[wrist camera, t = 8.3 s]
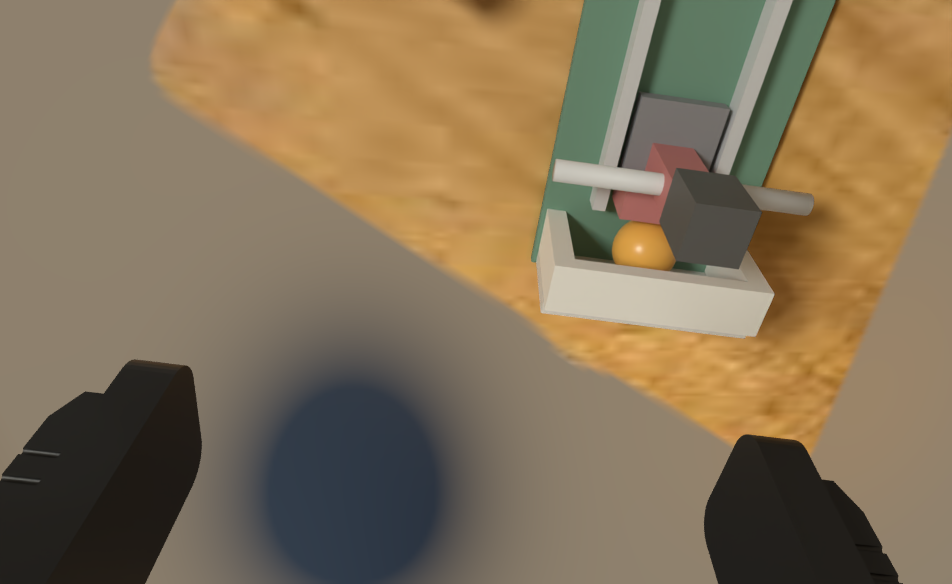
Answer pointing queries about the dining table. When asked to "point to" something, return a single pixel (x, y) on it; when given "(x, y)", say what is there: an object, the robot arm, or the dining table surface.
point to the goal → (648, 290)
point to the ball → (642, 247)
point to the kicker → (683, 182)
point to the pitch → (677, 91)
